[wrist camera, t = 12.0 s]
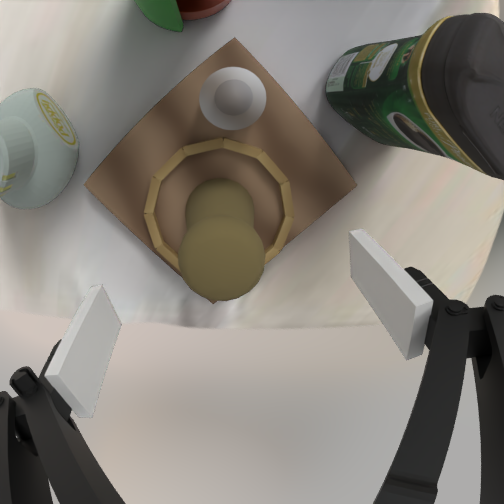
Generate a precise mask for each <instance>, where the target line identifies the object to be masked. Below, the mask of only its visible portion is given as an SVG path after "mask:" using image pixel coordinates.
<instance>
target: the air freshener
mask: <svg viewBox="0 0 504 504" xmlns="http://www.w3.org/2000/svg"><path fill="white" fill-rule="evenodd" d="M78 151H79V142H78V138H77V135H76V133H75V131H74V129H73V127H72V125H71V123H70V122H69V120H68V118H67V117H66V115H65V114H64V112H63V111H62V110H61V108H60V107H59V106H58V104H57V103H56V102H55V101H54V100H53V99H52V98H51V97H50V96H49V95H48V94H47V93H46V92H44V91H43V90H41V89H36V88H30V89H25V90H21V91H18V92H16V93H14V94H12V95H10V96H9V97H7V98H6V99H5V100H3V101H2V102H1V103H0V198H1V199H2V200H3V201H4V202H5V203H7V204H8V205H10V206H12V207H15V208H19V209H33V208H38V207H41V206H43V205H45V204H47V203H49V202H50V201H52V200H53V199H55V198H56V197H57V196H58V195H59V194H60V193H61V192H62V191H63V189H64V188H65V187H66V185H67V184H68V182H69V180H70V178H71V177H72V175H73V172H74V169H75V166H76V163H77V158H78Z"/></svg>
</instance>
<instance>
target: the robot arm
mask: <svg viewBox="0 0 504 504" xmlns="http://www.w3.org/2000/svg"><path fill="white" fill-rule="evenodd" d="M349 244H350V267H351V278H352V279H353V281H354V282H355V284H356V285H357V286H358V288H359V289H360V291H361V292H362V294H363V295H364V297H365V298H366V300H367V301H368V302H369V304H370V305H371V307H372V308H373V310H374V311H375V313H376V314H377V316H378V317H379V319H380V320H381V322H382V323H383V325H384V326H385V328H386V329H387V331H388V332H389V334H390V336H391V337H392V339H393V340H394V342H395V343H396V345H397V346H398V348H399V349H400V351H401V353H402V354H403V356H404V357H405V359H406V360H409V359H412V358H414V357H417V356H419V355H422V353H423V349H424V344H425V345H426V346H427V347H428V349H429V350H430V351H429V355H428V358H427V362H426V366H425V370H424V374H423V377H422V381H421V384H420V388H419V391H418V394H417V397H416V400H415V404H414V407H413V410H412V413H411V416H410V418H409V421H408V424H407V427H406V430H405V432H404V435H403V438H402V440H401V443H400V445H399V448H398V450H397V453H396V455H395V457H394V460H393V462H392V465H391V467H390V469H389V471H388V473H387V476H386V478H385V480H384V482H383V484H382V486H381V488H380V490H379V493H378V494H377V496H376V499H375V501H374V502H373V504H434V502H435V499H436V496H437V492H438V489H437V483H438V479H439V476H440V474H441V470H442V467H443V464H444V461H445V457H446V454H447V451H448V447H449V444H450V440H451V436H452V432H453V428H454V424H455V420H456V415H457V411H458V406H459V401H460V396H461V390H462V385H463V379H464V372H465V365H466V358H472V364H473V370H474V377H475V383H476V391H477V400H478V410H479V421H480V437H481V494H480V504H504V297H503V296H499V295H493V296H490V297H488V298H487V300H486V302H485V305H484V307H478V308H469V307H468V306H467V304H465V303H463V302H462V301H458V300H449V299H448V298H447V297H446V296H445V295H444V294H443V293H442V292H441V291H440V290H439V289H438V288H437V287H436V286H435V285H434V284H432V282H431V281H430V280H429V279H427V277H426V276H425V275H424V274H423V273H422V272H421V271H420V270H417V269H415V268H413V267H409V268H405V269H403V268H402V267H401V266H400V265H399V264H398V263H397V262H396V261H395V260H394V259H393V258H392V257H391V256H390V255H389V254H388V253H387V252H386V251H385V250H384V249H383V248H382V247H381V246H380V245H379V244H378V243H377V242H376V241H375V240H374V239H373V238H372V237H371V236H370V235H369V234H368V233H367V232H366V231H365V230H364V229H363V228H361V229H357V230H352V231H349ZM121 325H122V324H121V322H120V320H119V318H118V316H117V314H116V312H115V310H114V308H113V306H112V304H111V302H110V300H109V297H108V295H107V293H106V291H105V289H104V287H103V284H102V285H97V286H92V287H91V288H90V289H89V291H88V293H87V294H86V296H85V298H84V300H83V301H82V303H81V305H80V307H79V308H78V310H77V312H76V314H75V316H74V318H73V319H72V321H71V323H70V325H69V327H68V329H67V331H66V333H65V334H64V336H63V338H62V339H61V340H60V341H59V342H58V343H57V344H56V345H55V346H54V347H53V349H52V351H51V353H50V356H49V357H48V360H47V362H46V363H45V365H44V367H43V369H42V372H41V374H40V376H39V378H38V377H37V376H36V375H35V373H34V372H33V371H32V369H31V368H30V367H27V366H26V367H22V368H20V369H18V370H17V371H16V372H14V374H13V375H12V377H11V379H10V385H11V387H12V388H13V389H14V390H15V392H16V393H17V394H18V395H19V396H17V397H14V398H12V397H11V396H10V395H9V394H8V393H7V392H6V391H2V392H0V504H53V501H52V497H51V492H50V487H49V481H50V484H51V486H52V488H53V490H54V492H55V495H56V497H57V499H58V501H59V503H60V504H125V502H124V501H123V500H122V498H121V497H120V495H119V494H118V493H117V491H116V490H115V488H114V487H113V485H112V484H111V483H110V481H109V479H108V478H107V476H106V475H105V473H104V472H103V470H102V469H101V467H100V466H99V464H98V462H97V461H96V459H95V457H94V456H93V454H92V452H91V451H90V449H89V447H88V446H87V444H86V442H85V440H84V438H83V437H82V435H81V433H80V431H79V429H78V428H77V426H76V424H75V422H74V420H73V419H72V418H71V417H70V413H71V411H72V410H73V411H74V412H75V414H76V415H77V416H78V417H80V418H92V417H93V414H94V410H95V407H96V403H97V400H98V396H99V393H100V389H101V386H102V383H103V379H104V376H105V373H106V370H107V367H108V364H109V360H110V357H111V354H112V351H113V348H114V345H115V342H116V339H117V336H118V334H119V330H120V328H121ZM16 436H17V438H16ZM48 479H49V481H48Z"/></svg>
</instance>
